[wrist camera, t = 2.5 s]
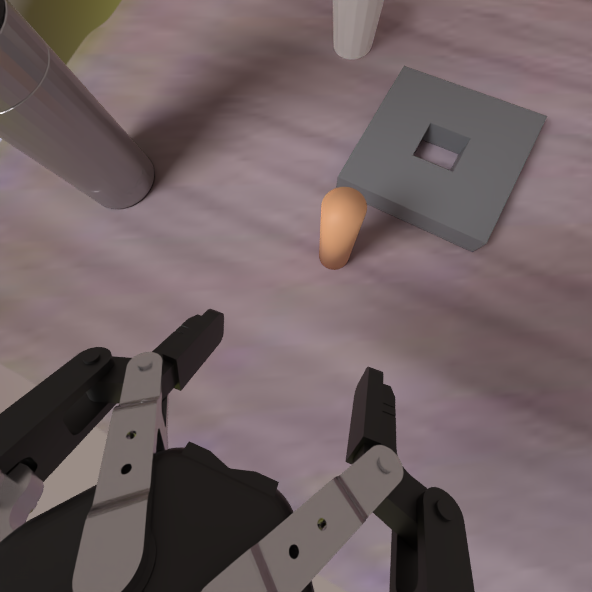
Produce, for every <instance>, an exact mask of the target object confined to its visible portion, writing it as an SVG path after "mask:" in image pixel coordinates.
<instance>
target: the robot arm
mask: <svg viewBox="0 0 592 592" xmlns="http://www.w3.org/2000/svg"><path fill="white" fill-rule="evenodd" d="M0 138H2V139H3V140H5V141H6V142H8V143H9V144H11V145H12V146H14V147H15V148H17V149H18V150H20V151H21V152H23V153H24V154H26V155H27V156H29V157H30V158H32V159H33V160H35V161H36V162H38V163H39V164H41V165H42V166H44V167H45V168H47V169H48V170H50V171H51V172H53V173H54V174H56V175H57V176H59V177H60V178H62V179H64V180H65V181H67V182H68V183H70V184H71V185H73V186H74V187H75V188H77V189H78V190H80V191H81V192H83V193H84V194H86V195H88V196H89V197H91V198H92V199H94V200H95V201H97V202H98V203H100V204H101V205H103V206H105V207H108V208H111V209H122V208H126V207H129V206H132V205H134V204H136V203H137V202H139V201H140V200H141V199H142V198H144V196H145V195H146V194H147V193H148V192H149V190H150V188H151V186H152V183H153V180H154V168H153V165H152V162H151V161H150V160H149V158H148V157H147V156H146V155H145V154H144V153H143V151H142V150H141V149H140V148H139V147H138V146H137V145H136V144H135V142H134V141H133V140H132V139H131V138H130V137H129V135H128V134H127V133H126V132H125V131H124V130H123V129H122V128H121V126H120V125H119V124H118V123H117V122H116V121H115V120H114V119H113V117H112V116H111V115H110V114H109V113H108V112H107V111H106V110H105V108H104V107H103V106H102V105H101V104H100V103H99V102H98V101H97V100H96V98H95V97H94V96H93V95H92V94H91V93H90V92H89V91H88V89H87V88H86V87H85V86H84V85H83V84H82V83H81V82H80V80H79V79H78V78H77V77H76V76H75V75H74V74H73V73H72V71H71V70H70V69H69V68H68V67H67V66H66V65H65V64H64V63H63V62H62V60H61V59H60V58H59V57H58V56H57V55H56V53H55V52H54V51H53V50H52V49H51V48H50V47H49V46H48V45H47V43H46V42H45V41H44V40H43V39H42V38H41V37H40V36H39V35H38V34H37V33H36V31H35V30H34V29H33V28H32V27H31V26H30V25H29V24H28V22H27V21H26V20H25V19H24V18H23V17H22V16H21V14H20V13H19V12H18V11H17V10H16V9H15V8H14V7H13V5H12V4H11V3H10V2H9V1H8V0H0ZM223 333H224V314H223V313H221V312H218V311H215V310H212V309H209V310H207V311H206V312H205V313H204V314H203V315H202V316H201V315H195V316H193V317H191V318H189V319H187V320H186V321H185V322H184V323H183V324H182V325H181V326H180V327H179V328H178V329H176V331H175V332H173V333H172V334H171V335H170V336H169V337H168V338H167V339H166V340H164V341H163V342H162V343H161V344H160V345H159V346H158V347H157V348H156V349H155V350H153V351H152V352H145V353H141V354H138V355H136V356H135V357H133V358H125V357H113V356H112V355H111V352H110V351H109V350H108V349H106V348H103V347H95V348H90V349H87V350H85V351H83V352H81V353H79V354H78V355H77V356H75V357H74V358H73V359H71V360H70V361H69V362H67V363H66V364H65V365H64V366H62V367H61V368H60V369H58V370H57V371H56V372H54V373H53V374H52V375H50V376H49V377H48V378H46V379H45V380H44V381H43V382H41V383H40V384H39V385H37V386H36V387H35V388H33V389H32V390H31V391H30V392H28V393H27V394H26V395H24V396H23V397H22V398H20V399H19V400H18V401H16V402H15V403H14V404H12V405H11V406H10V407H9V408H7V409H6V410H5V411H3V412H2V413H1V414H0V592H314V589H313V585H312V579H313V578H314V577H315V576H316V575H317V574H318V573H319V572H320V570H321V569H322V568H323V567H324V566H325V565H326V564H327V563H328V562H329V561H330V560H331V558H332V557H333V556H334V555H335V554H336V553H337V552H338V551H339V550H340V549H341V547H342V546H343V545H344V544H345V543H346V542H347V541H348V540H349V539H350V538H351V537H352V535H353V534H354V533H355V532H356V531H357V530H358V529H359V528H360V527H361V526H362V524H363V523H364V522H365V521H366V519H367V518H368V516H369V515H370V514H371V513H372V512H373V513H374V514H375V515H376V516H378V517H379V518H380V519H381V520H382V521H383V522H384V523H385V524H386V525H387V526H388V527H390V528H391V529H392V542H391V566H390V591H389V592H475V591H474V585H473V578H472V571H471V564H470V558H469V551H468V544H467V537H466V531H465V524H464V518H463V515H462V512H461V510H460V508H459V506H458V504H457V503H456V502H455V500H454V499H453V498H452V497H451V496H450V495H449V494H448V493H447V492H445V491H444V490H442V489H440V488H437V487H431V488H429V489H427V488H426V487H425V486H423V485H422V484H421V483H420V482H418V481H417V480H416V479H415V478H413V477H412V476H411V475H410V474H409V473H408V472H407V471H406V470H405V469H404V468H403V466H402V463H401V461H400V459H399V458H398V456H397V450H396V418H395V416H396V414H395V396H394V393H393V391H392V389H391V386H388V385H385V384H383V372H381V371H379V370H376V369H373V368H370V367H367V368H366V370H365V372H364V374H363V376H362V377H361V379H360V381H359V383H358V385H357V388H356V391H355V395H354V402H353V409H352V417H351V424H350V432H349V440H348V447H347V455H346V462H347V463H350V464H352V465H351V466H350V467H349V468H348V469H347V470H345V471H344V472H343V473H342V474H341V475H339V476H338V477H335V478H334V479H332V480H331V481H330V482H329V483H327V484H326V485H325V486H324V487H323V488H322V489H320V490H319V491H318V492H317V493H316V494H315V495H313V496H312V497H311V498H310V499H309V500H308V501H306V502H305V503H304V504H303V505H302V506H301V507H299V508H298V509H297V510H296V511H295V512H293V510H292V508H291V506H290V504H289V503H288V501H287V500H286V498H285V497H284V496H283V495H282V493H281V492H280V491H278V490H277V486H278V483H279V482H277V481H275V480H273V479H271V478H268V477H266V476H264V475H262V474H260V473H257V472H254V471H246V470H238V469H231V468H228V467H227V466H226V465H225V464H224V463H223V462H222V461H221V460H219V459H218V458H217V457H216V456H215V455H214V454H213V453H212V452H211V451H209V450H207V449H205V448H202V447H200V446H198V445H196V444H194V443H191V442H188V444H187V446H186V447H185V448H171V449H168V433H167V429H168V404H169V393H170V391H171V390H172V389H173V388H175V389H178V390H180V391H181V390H182V389H183V388H184V386H185V385H186V384H187V383H188V382H189V380H190V379H191V378H192V377H193V375H194V374H195V373H196V372H197V370H198V369H199V368H200V367H201V366H202V364H203V363H204V362H205V361H206V359H207V358H208V357H209V356H210V355H211V353H212V352H213V351H214V350H215V348H216V347H217V346H218V345H219V343H220V342H221V340H222V337H223ZM117 403H119V406H116V407H115V408H114V410H113V412H112V417H111V421H110V426H109V431H108V435H107V440H106V445H105V449H104V454H103V459H102V463H101V468H100V473H99V478H98V482H97V485H95V486H93V487H91V488H89V489H88V490H86V491H84V492H82V493H80V494H78V495H76V496H74V497H72V498H70V499H69V500H67V501H65V502H63V503H61V504H59V505H57V506H55V507H53V508H51V509H50V510H48V511H46V512H44V513H42V514H40V515H38V516H37V517H34V518H33V519H31V520H29V521H27V522H26V519H27V517H28V515H29V514H30V513H31V512H32V511H33V510H34V508H35V507H36V505H37V502H38V501H39V499H40V497H41V495H42V492H43V488H44V485H43V482H44V481H45V480H46V479H47V477H48V476H49V475H50V474H51V473H52V472H53V471H54V470H55V469H56V468H57V467H58V466H59V464H61V463H62V461H63V460H64V459H65V458H66V457H67V456H68V455H69V454H70V453H71V452H72V451H73V450H74V449H75V448H76V446H77V445H78V444H79V443H80V442H81V441H82V440H83V439H84V438H85V437H86V436H87V434H88V433H89V432H90V431H91V430H92V429H93V428H94V427H95V426H96V425H97V424H98V423H99V422H100V421H101V420H102V419H103V417H104V416H105V415H106V414H107V413H108V412H109V411H110V410H111V409H112V408H113V407H114V406H115V405H116V404H117Z"/></svg>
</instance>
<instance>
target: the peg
mask: <svg viewBox="0 0 592 592" xmlns="http://www.w3.org/2000/svg"><path fill="white" fill-rule="evenodd" d="M366 211H367V203H366V200H365V198H364V196H363V195H362V194H361V193H360V192H359V191H357V190H356V189H353V188H350V187H338V188H335V189H333V190H331V191H330V192H329V193H327V194H326V196H325V197H324V199H323V201H322V205H321V227H320V251H319V258H320V261H321V263H322V264H323V265H324V266H325V267H326V268H328V269H332V270H336V269H340V268H342V267H343V266H345V265H346V263H347V262H348V259H349V257H350V254H351V251H352V249H353V246H354V243H355V241H356V238H357V236H358V233H359V230H360V228H361V225H362V222H363V220H364V217H365V215H366Z"/></svg>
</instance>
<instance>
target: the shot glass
mask: <svg viewBox="0 0 592 592" xmlns="http://www.w3.org/2000/svg"><path fill="white" fill-rule="evenodd" d="M383 3H384V0H333V44H334V50H335V52H336V53H337V55H339V56H340V57H342V58H345V59H349V60H352V59H359V58H361V57H363V56H365V55H366V54H367V53H368V52H369V51H370V49H371V47H372V44H373V40H374V37H375V33H376V29H377V25H378V22H379V18H380V14H381V10H382V7H383Z"/></svg>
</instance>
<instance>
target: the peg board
mask: <svg viewBox="0 0 592 592" xmlns="http://www.w3.org/2000/svg"><path fill="white" fill-rule="evenodd" d="M546 118H547V116H545V115H542V114H539V113H537V112H534V111H531V110H528V109H525V108H522V107H520V106H517V105H514V104H511V103H508V102H505V101H503V100H500V99H497V98H494V97H491V96H488V95H486V94H483V93H480V92H477V91H474V90H471V89H468V88H466V87H463V86H460V85H457V84H454V83H451V82H449V81H446V80H443V79H440V78H437V77H434V76H432V75H429V74H426V73H423V72H420V71H417V70H415V69H412V68H409V67H406V66H404V67H403V68H402V70H401V72H400V73H399V75H398V77H397V78H396V80H395V82H394V83H393V85H392V87H391V88H390V90H389V92H388V93H387V95H386V97H385V99H384V100H383V102H382V104H381V105H380V107H379V109H378V110H377V112H376V114H375V115H374V117H373V119H372V120H371V122H370V124H369V125H368V127H367V129H366V130H365V132H364V134H363V135H362V137H361V139H360V140H359V142H358V144H357V145H356V147H355V149H354V150H353V152H352V154H351V155H350V157H349V159H348V161H347V162H346V164H345V166H344V167H343V169H342V171H341V172H340V174H339V176H338V179H337V186H336V188H338V187H350V188H353V189H356V190H357V191H359V192H360V193H361V194H362V195H363V196H364V198H365V200H366V203H367V204H368V205H371V206H373V207H375V208H377V209H379V210H382V211H384V212H386V213H388V214H390V215H392V216H395V217H397V218H399V219H401V220H403V221H406V222H408V223H410V224H412V225H414V226H416V227H419V228H421V229H423V230H425V231H427V232H430V233H432V234H434V235H436V236H438V237H441V238H443V239H445V240H447V241H449V242H451V243H454V244H456V245H458V246H460V247H462V248H465V249H467V250H469V251H471V252H473V251H475V250H477V249H478V248H480V247H482V246H483V245H485V244H486V243H487V241H488V239H489V237H490V235H491V233H492V231H493V229H494V227H495V225H496V222H497V220H498V218H499V216H500V214H501V212H502V210H503V208H504V206H505V204H506V201H507V199H508V197H509V195H510V193H511V191H512V189H513V187H514V185H515V183H516V181H517V178H518V176H519V174H520V172H521V170H522V168H523V166H524V164H525V162H526V160H527V158H528V155H529V153H530V151H531V149H532V147H533V145H534V143H535V141H536V139H537V137H538V134H539V132H540V130H541V128H542V126H543V124H544V122H545V120H546ZM421 140H425V141H427V142H430V143H432V144H435V145H437V146H440V147H442V148H445V149H447V150H450V151H452V152H455V153H457V154H459V155H458V157H457V159H456V161H455V163H454V165H453V166H452V168H451V170H447V169H445V168H442V167H440V166H437V165H435V164H433V163H430V162H428V161H425V160H423V159H420V158H418V157H416V156H413V155H414V153H415V151H416V149H417V147H418V146H419V144H420V142H421Z"/></svg>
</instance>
